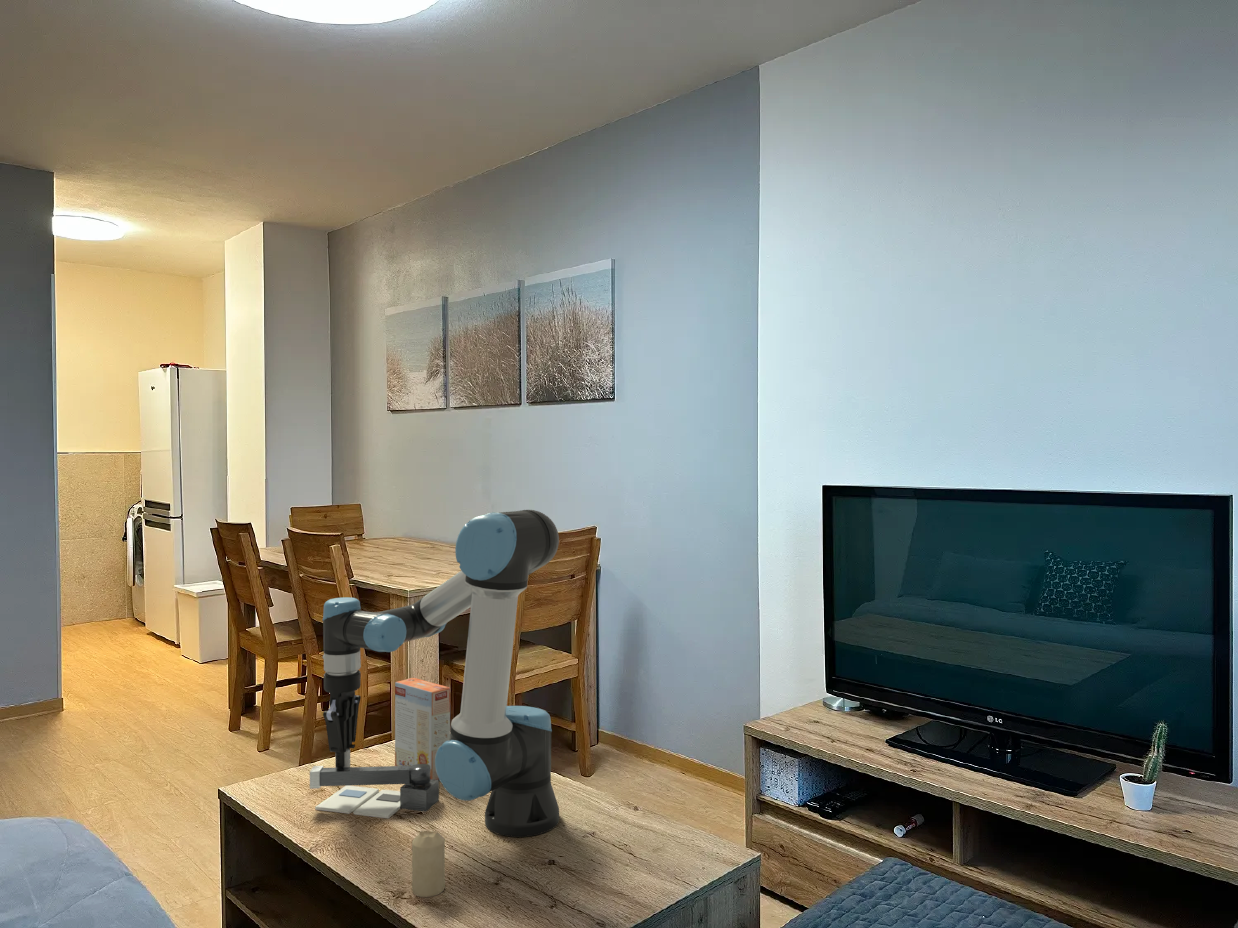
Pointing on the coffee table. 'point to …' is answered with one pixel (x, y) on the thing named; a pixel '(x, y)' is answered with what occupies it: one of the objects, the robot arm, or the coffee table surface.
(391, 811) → the label plate
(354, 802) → the label plate
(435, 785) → the pivot post
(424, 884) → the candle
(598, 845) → the coffee table surface
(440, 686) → the cracker box
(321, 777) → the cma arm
